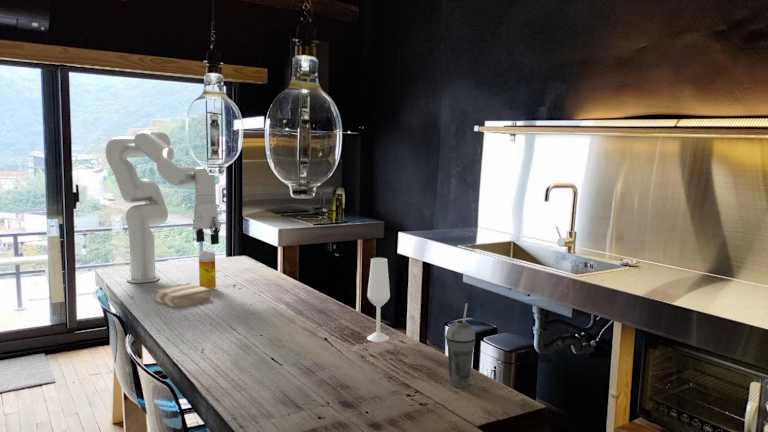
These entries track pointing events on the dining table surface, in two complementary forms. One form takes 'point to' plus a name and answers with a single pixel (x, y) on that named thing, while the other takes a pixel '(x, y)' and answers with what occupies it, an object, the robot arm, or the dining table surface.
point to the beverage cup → (460, 351)
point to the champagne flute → (378, 292)
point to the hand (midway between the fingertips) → (207, 242)
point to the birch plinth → (182, 295)
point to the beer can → (207, 270)
